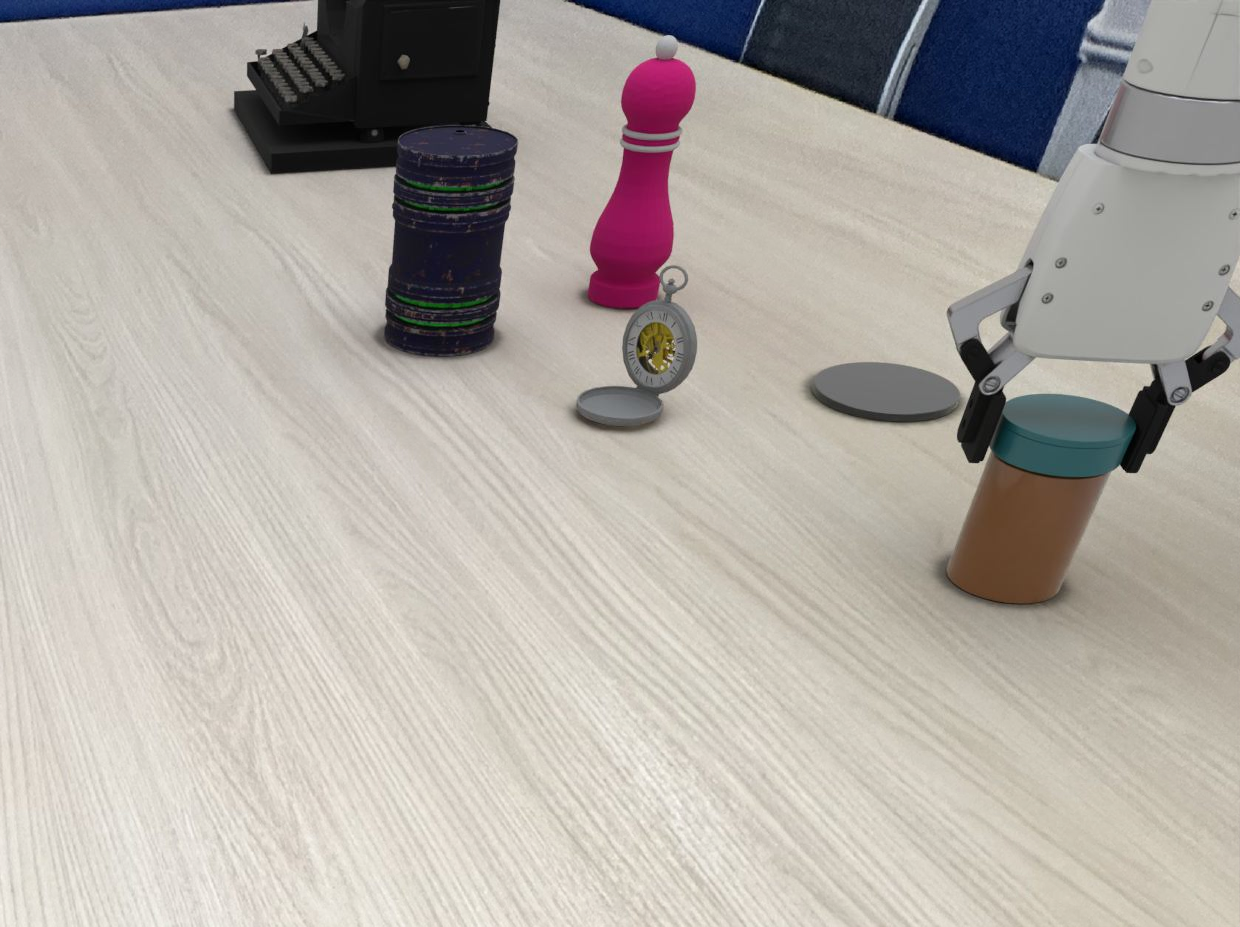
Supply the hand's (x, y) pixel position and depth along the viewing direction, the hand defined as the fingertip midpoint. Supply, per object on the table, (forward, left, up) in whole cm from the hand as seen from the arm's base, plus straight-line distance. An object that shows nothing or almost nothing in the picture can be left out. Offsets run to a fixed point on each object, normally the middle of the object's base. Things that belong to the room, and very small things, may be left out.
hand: (1047, 458), depth 88 cm
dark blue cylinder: (+39, -40, -8) cm, 56 cm away
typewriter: (+53, -109, -8) cm, 122 cm away
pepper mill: (+23, -52, -8) cm, 57 cm away
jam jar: (0, 0, -8) cm, 8 cm away
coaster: (+3, -31, -8) cm, 32 cm away
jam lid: (0, 0, +2) cm, 2 cm away
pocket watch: (+23, -25, -8) cm, 35 cm away
